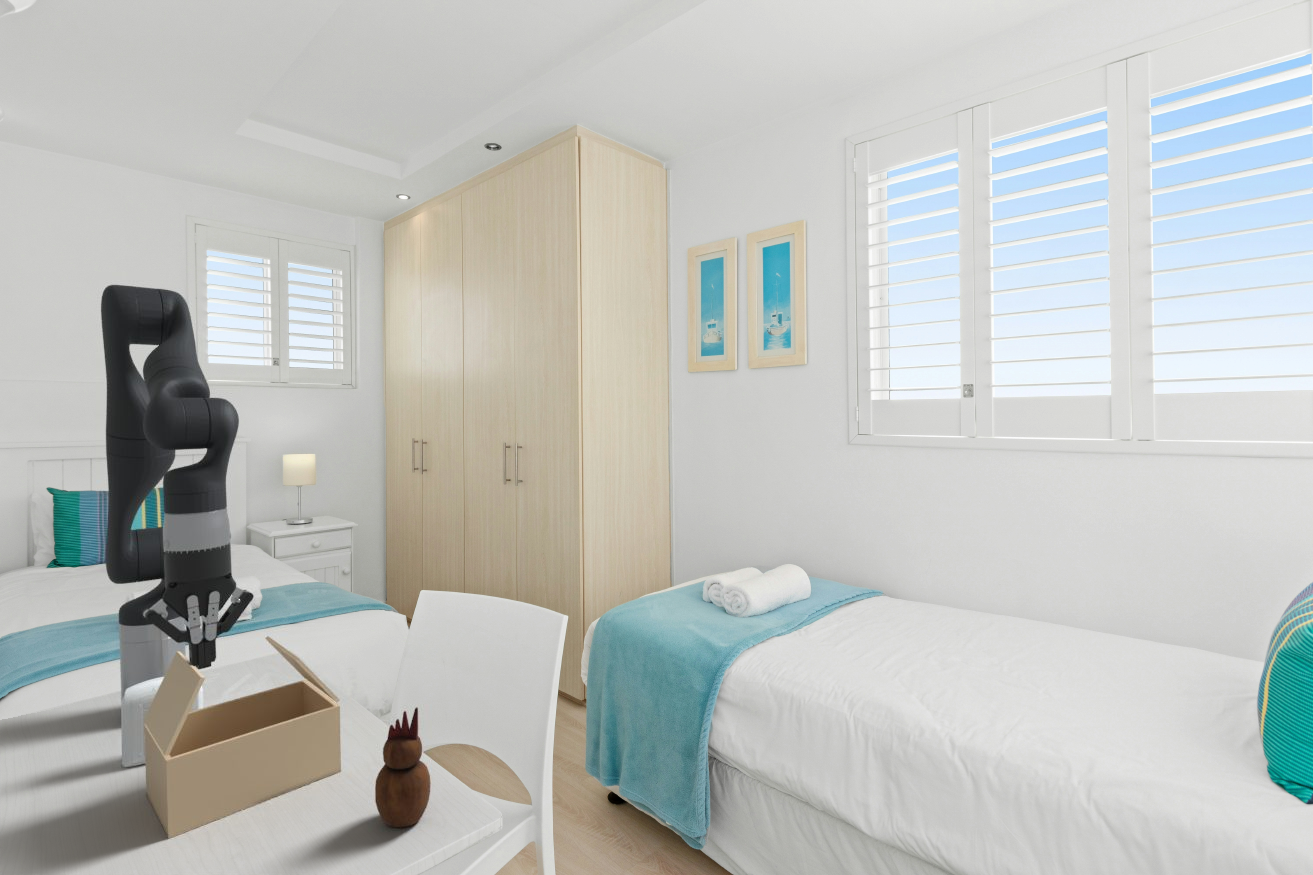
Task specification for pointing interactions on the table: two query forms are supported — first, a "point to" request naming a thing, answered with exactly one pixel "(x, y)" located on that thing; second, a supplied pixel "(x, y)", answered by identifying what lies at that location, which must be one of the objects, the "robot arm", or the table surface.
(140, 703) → the photo printer
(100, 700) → the table surface
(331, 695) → the far flap
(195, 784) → the carton
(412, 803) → the wooden figurine
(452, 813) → the table surface
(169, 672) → the near flap
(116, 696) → the table surface
